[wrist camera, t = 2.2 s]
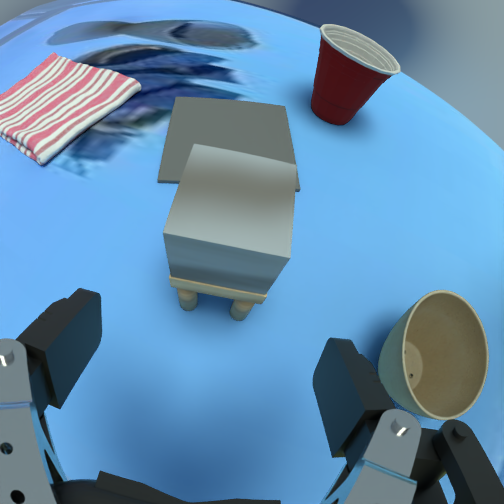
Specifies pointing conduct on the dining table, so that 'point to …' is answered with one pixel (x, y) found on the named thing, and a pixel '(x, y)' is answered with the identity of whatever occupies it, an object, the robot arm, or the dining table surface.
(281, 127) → the mat
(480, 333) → the flower pot
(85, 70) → the dish towel
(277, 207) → the stool
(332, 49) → the plastic cup
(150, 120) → the dining table surface
